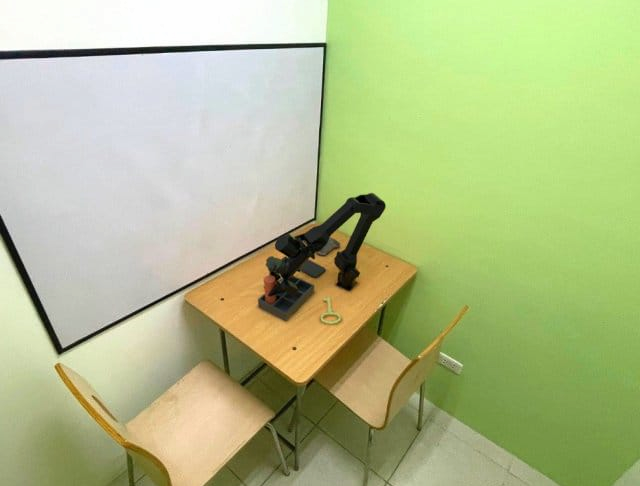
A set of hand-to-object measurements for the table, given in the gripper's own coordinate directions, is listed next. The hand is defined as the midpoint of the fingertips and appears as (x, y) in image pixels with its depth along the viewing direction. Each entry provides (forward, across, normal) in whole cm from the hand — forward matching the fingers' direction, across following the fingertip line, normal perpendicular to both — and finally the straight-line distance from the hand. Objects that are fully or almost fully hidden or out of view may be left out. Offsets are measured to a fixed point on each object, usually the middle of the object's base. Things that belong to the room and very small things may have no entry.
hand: (266, 292), depth 134 cm
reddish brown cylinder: (+4, 0, +6) cm, 7 cm away
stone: (-20, -26, +31) cm, 45 cm away
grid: (-1, -1, +11) cm, 11 cm away
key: (-9, +12, +19) cm, 24 cm away
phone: (-11, -16, +22) cm, 29 cm away
